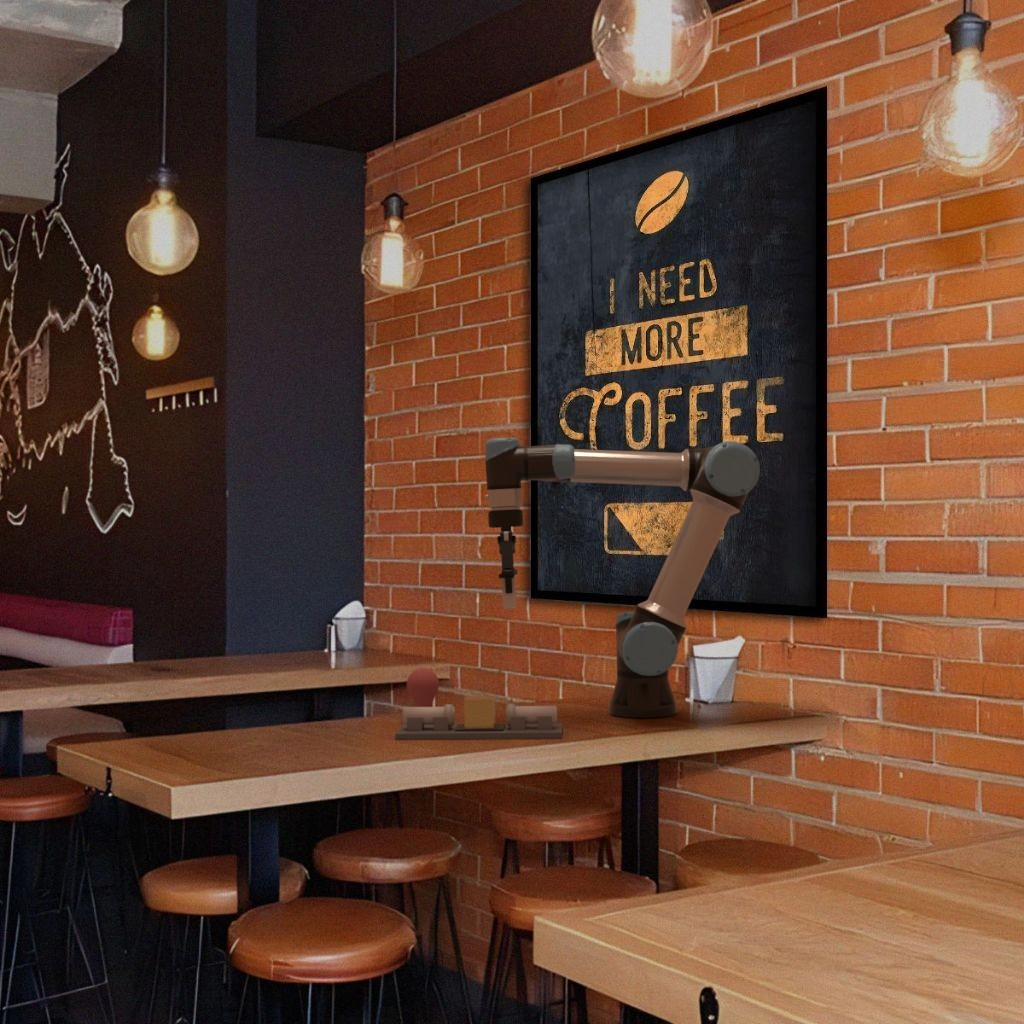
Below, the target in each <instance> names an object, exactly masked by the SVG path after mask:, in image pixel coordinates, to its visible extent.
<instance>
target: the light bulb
mask: <svg viewBox="0 0 1024 1024" xmlns="http://www.w3.org/2000/svg"><path fill="white" fill-rule="evenodd" d="M439 682H440V681H439V678H438V676H437V675H436V673H435V672H434V671H433V670H431V669H429V668H425V667H421V668H417V669H414V670H413V671H412V672H411V673H410V674H409V676H408V678H407V680H406V689H407V692H408V694H409V696H410V698H411V699H412V701H413V707H433V702H434V699H435V697H436V695H437V692H439V691H438V690H439V688H440V687H439V685H440V683H439Z"/></svg>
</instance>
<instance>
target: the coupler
mask: <svg viewBox="0 0 1024 1024" xmlns="http://www.w3.org/2000/svg"><path fill="white" fill-rule="evenodd" d="M495 699H496V697H495V695H483V696H482V695H478V696H477V695H475V696H474V695H473V696H472V695H471V696H470V695H469V696H465V697H464V699H463V701H464V702H463V707H464V708H463V709H464V710H463V713H464V714H463V715H464V724H465V729H490V728H494V726H495V724H496V705H495V704H496V702H495V701H496V700H495Z"/></svg>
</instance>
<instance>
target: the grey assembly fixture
mask: <svg viewBox="0 0 1024 1024" xmlns="http://www.w3.org/2000/svg"><path fill="white" fill-rule="evenodd" d="M454 706H455V705H454V704H449V703H447V704H444V706H432V707H414V706H404V707H403V708H402V723H403V724H402V726H401V727H400V728H399V729H398V730H397V731H396V732H395V734H394V735H395V737H394V740H395V741H397V740H398V741H401V740H402V741H405V740H406V741H408V740H409V741H411V740H414V741H418V740H422V741H423V740H430V741H431V740H432V741H433V740H525V739H526V740H535V739H536V740H537V739H538V740H539V739H540V740H541V739H543V740H545V739H547V740H548V739H553V740H554V739H561V740H562V739H563V723H559V722H558V706H557V705H516V703H507V704H506V706H505V721H506V722H505V723H495V726H494V728H490V729H465V723H463V724H462V723H460V724H459V723H457V724H456V723H455V722H456V721H455V719H456V715H455V714H456V713H455V707H454Z"/></svg>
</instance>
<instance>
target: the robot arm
mask: <svg viewBox="0 0 1024 1024" xmlns="http://www.w3.org/2000/svg"><path fill="white" fill-rule="evenodd" d="M484 449H485V450H484V451H485V454H484V455H485V457H484V458H485V460H484V462H485V477H486V478H485V479H486V490H487V494H485V495H484V499H485V500H487V507H488V509H490V510H488V513H487V517H488V519H487V520H488V521H487V522H488V527H489V528H490V529H491V528H493V529H494V528H500V532H499V535H497V538H496V539H497V545H498V552H499V554H500V555H501V557H500V558H501V571H500V572H501V573H499V574H498V579H501V585H502V586H501V587H502V589H501V590H502V608H503V610H511V609H512V610H513V609H514V610H515V609H517V591H516V589H517V588H516V575H518V569H515V566H514V565H515V564H514V554H516V543H517V540H516V539H517V537H516V535H514V534H513V533H514V532H513V531H512V528H514V527H516V528H518V527H522V526H523V525H524V516H523V515H524V514H523V513H524V511H523V510H522V509H521V507H523V489H522V481H526V482H527V481H540V482H545V483H551V482H556V483H557V482H559V483H589V484H590V483H591V484H593V483H594V484H613V485H614V484H618V485H638V486H639V485H640V486H662V487H663V486H664V487H666V486H667V487H679V488H681V489H682V491H684V492H690V494H691V497H692V502H691V505H690V506H689V508H688V511H687V513H686V515H685V517H684V519H683V522H682V524H681V526H680V528H679V530H678V533H677V535H676V538H675V539H674V542H673V544H672V547H671V548H670V550H669V553H668V555H667V557H666V559H665V561H664V563H663V566H662V567H661V570H660V573H659V574H658V576H657V579H656V581H655V583H654V585H653V588H652V590H651V591H650V594H649V596H648V598H647V599H646V600H645V601H642V602H640V603H638V604H637V606H636V607H635V610H634V611H629V612H628V611H627V612H619V613H618V614H617V615H616V619H615V625H614V626H615V627H614V628H615V629H616V631H615V633H616V636H615V638H616V640H615V641H616V642H615V643H616V682H615V686H614V688H613V692H612V696H611V699H610V702H609V714H610V715H611V716H616V717H621V718H632V719H633V718H635V719H636V718H637V719H641V718H642V719H643V718H644V719H646V718H647V719H652V718H665V717H670V716H674V715H677V701H676V699H675V696H674V693H673V690H672V686H671V684H670V680H669V670H670V668H671V667H672V666H673V664H674V663H675V661H676V659H677V657H678V653H679V645H680V643H681V640H682V638H683V636H684V634H685V632H686V630H687V623H686V620H685V615H686V613H687V611H688V609H689V606H690V604H691V601H692V600H693V598H694V595H695V593H696V591H697V588H698V587H699V584H700V581H701V580H702V578H703V576H704V573H705V571H706V570H707V567H708V565H709V562H710V560H711V558H712V556H713V554H714V551H715V549H716V547H717V545H718V543H719V540H720V538H721V537H722V534H723V532H724V529H725V528H726V526H727V523H728V522H729V519H730V517H732V516H733V515H737V514H739V513H740V511H741V509H742V507H743V505H744V503H745V502H746V499H747V496H749V495H748V494H749V493H750V491H752V490H753V489H754V487H756V485H757V483H758V480H759V477H760V472H761V471H760V469H761V468H760V463H759V459H758V457H757V455H756V454H755V452H754V451H753V450H752V449H751V448H750V447H749V446H747V445H745V444H744V443H740V442H737V441H729V440H728V441H723V442H720V443H718V444H716V445H715V446H711V447H709V446H708V447H705V448H685V449H684V450H683V451H682V452H659V451H658V452H657V451H637V450H635V451H634V450H629V451H628V450H606V449H580V448H579V449H578V448H577V449H576V448H575V447H574V446H573V445H572V444H562V443H561V444H560V443H557V444H545V445H544V444H543V445H533V446H532V445H529V446H527V445H525V446H523V445H521V444H520V440H519V439H518V437H497V438H496V437H494V438H489V439H488V440H487V441H486V443H485V448H484Z"/></svg>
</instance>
